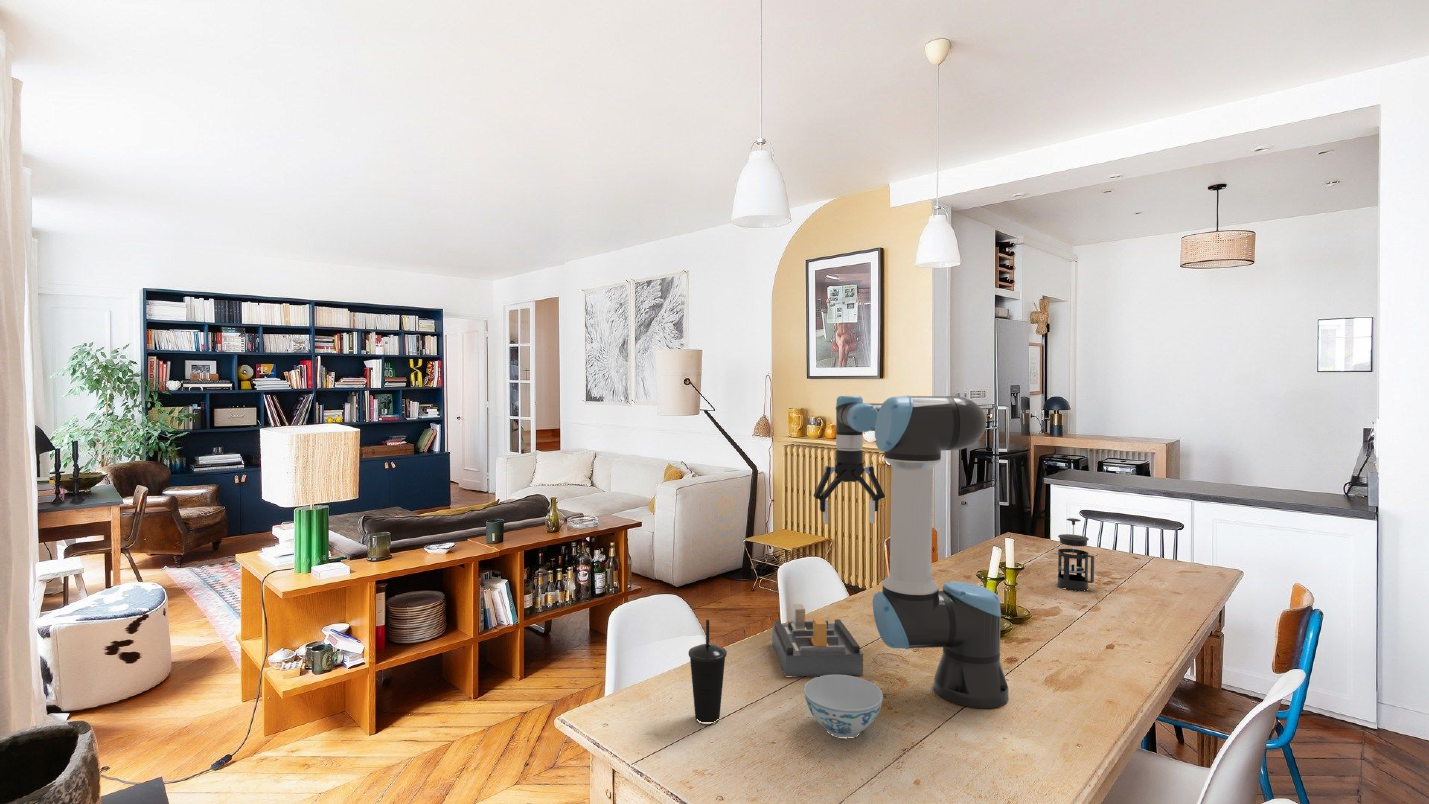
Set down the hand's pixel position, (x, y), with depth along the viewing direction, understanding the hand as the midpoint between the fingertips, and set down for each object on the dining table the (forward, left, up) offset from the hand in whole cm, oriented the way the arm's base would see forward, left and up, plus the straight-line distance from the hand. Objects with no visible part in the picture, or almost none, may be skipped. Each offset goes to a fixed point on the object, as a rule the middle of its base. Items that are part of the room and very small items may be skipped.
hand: (848, 523), depth 191 cm
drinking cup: (-56, +44, -28) cm, 76 cm away
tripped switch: (-33, +16, -22) cm, 43 cm away
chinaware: (-62, +18, -28) cm, 70 cm away
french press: (+24, -83, -28) cm, 91 cm away
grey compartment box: (-28, +16, -28) cm, 42 cm away
